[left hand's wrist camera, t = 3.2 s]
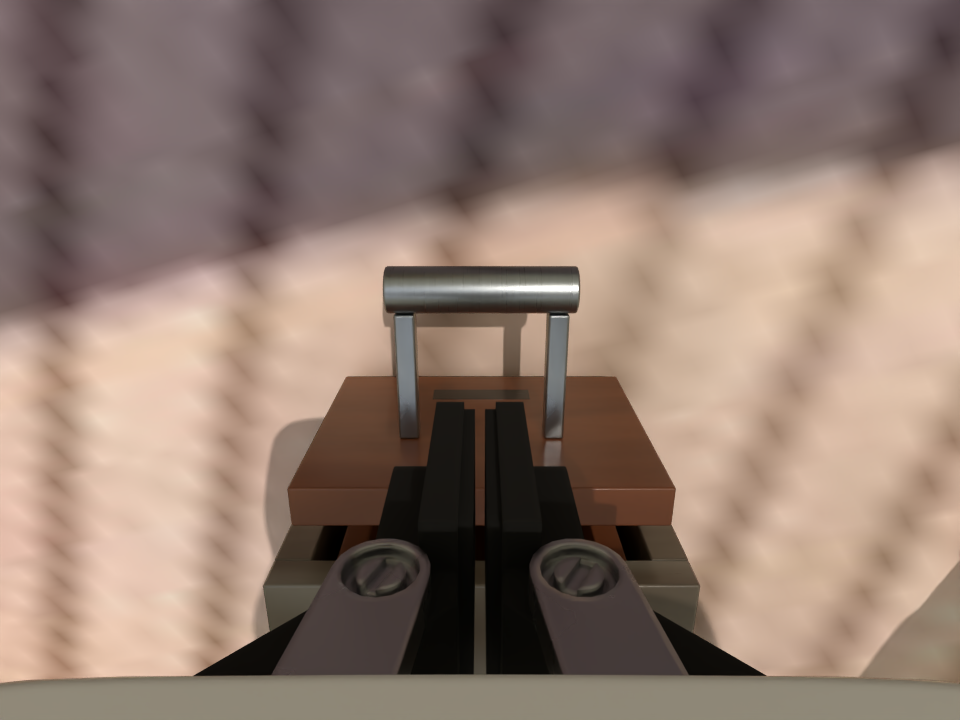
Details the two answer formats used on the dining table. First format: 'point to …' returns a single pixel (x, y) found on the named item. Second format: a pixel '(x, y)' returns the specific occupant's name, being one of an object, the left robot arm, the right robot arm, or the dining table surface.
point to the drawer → (482, 414)
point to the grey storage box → (645, 549)
